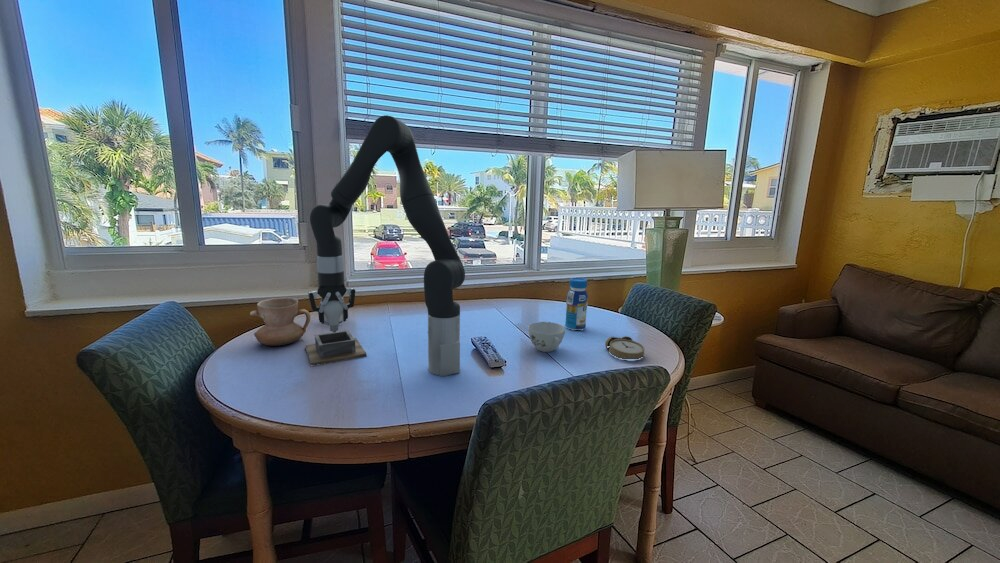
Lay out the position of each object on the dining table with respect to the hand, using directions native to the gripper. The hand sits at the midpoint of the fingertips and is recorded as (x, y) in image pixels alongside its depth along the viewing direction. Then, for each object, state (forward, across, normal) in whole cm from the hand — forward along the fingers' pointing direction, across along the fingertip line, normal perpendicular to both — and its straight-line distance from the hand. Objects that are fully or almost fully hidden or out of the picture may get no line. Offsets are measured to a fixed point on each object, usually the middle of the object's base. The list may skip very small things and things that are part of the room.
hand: (333, 321), depth 128 cm
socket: (+10, 0, 0) cm, 10 cm away
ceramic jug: (+11, -14, +18) cm, 25 cm away
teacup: (+10, +63, -30) cm, 71 cm away
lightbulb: (+4, 0, 0) cm, 4 cm away
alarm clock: (+11, +85, -44) cm, 96 cm away
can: (+11, +5, +34) cm, 36 cm away
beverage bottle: (+10, +88, -16) cm, 90 cm away
